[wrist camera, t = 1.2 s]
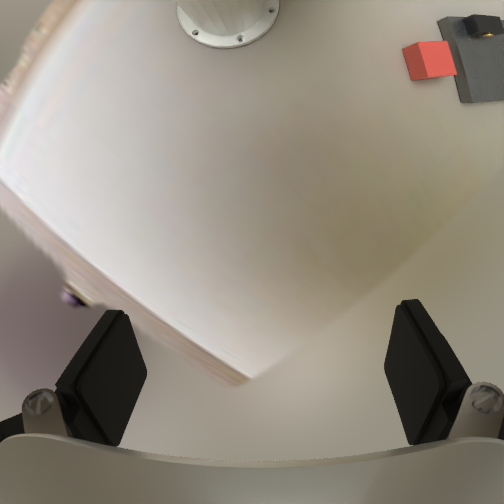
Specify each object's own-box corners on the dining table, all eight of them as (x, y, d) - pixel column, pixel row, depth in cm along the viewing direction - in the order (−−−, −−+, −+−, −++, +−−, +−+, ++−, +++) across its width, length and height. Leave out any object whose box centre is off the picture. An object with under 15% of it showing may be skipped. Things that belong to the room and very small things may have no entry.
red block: (402, 49, 32) (417, 42, 27) (429, 47, 31) (446, 40, 26) (411, 80, 33) (428, 77, 29) (438, 77, 32) (457, 74, 28)
